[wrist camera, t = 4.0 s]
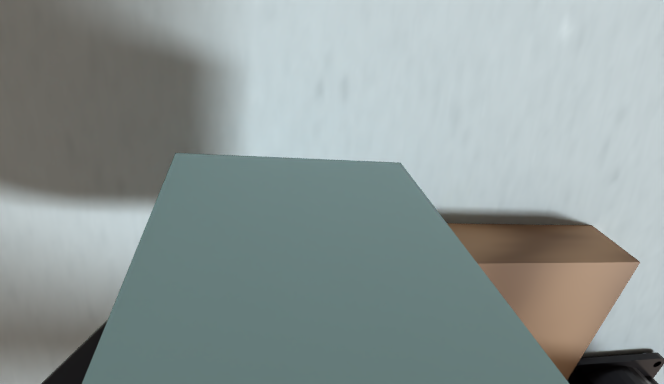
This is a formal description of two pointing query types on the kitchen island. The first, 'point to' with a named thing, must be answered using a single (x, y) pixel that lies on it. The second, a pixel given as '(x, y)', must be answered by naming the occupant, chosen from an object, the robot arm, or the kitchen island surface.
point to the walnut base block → (552, 279)
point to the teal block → (307, 284)
